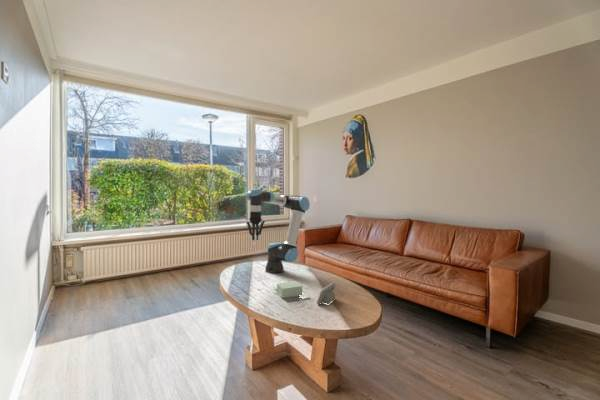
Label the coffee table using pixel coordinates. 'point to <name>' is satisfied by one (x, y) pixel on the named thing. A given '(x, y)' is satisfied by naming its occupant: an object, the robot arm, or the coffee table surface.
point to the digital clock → (327, 294)
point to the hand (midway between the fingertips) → (254, 244)
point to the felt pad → (292, 298)
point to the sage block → (289, 289)
